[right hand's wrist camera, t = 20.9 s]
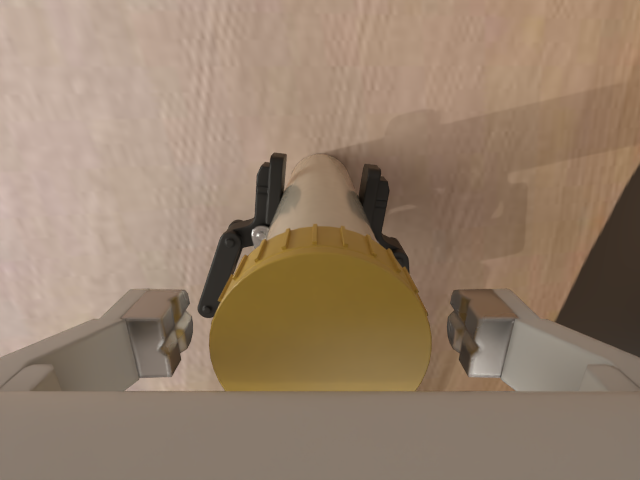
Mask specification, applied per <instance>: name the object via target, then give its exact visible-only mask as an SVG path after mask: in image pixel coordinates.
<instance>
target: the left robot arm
mask: <svg viewBox="0 0 640 480" xmlns="http://www.w3.org/2000/svg"><path fill="white" fill-rule="evenodd" d="M286 158H287V155H286V154H281V153H273V154H272V155H271V159H270V163H269V162H265V163H264V164H263V165H262V166H261V167H260V169H259V172H258V174H257V183H256V185H257V186H256V202H255V217H254V218H252V219H250V220H245V221H242V220H235V221H233V222H232V223H231V224H230V226H229V227H228V229H227V231H226V232H225V233H223V235H222V236H221V238H220V240H219V243H218V246H217V249H216V252H215V255H214V259H213V262H212V265H211V268H210V271H209V274H208V277H207V280H206V283H205V286H204V289H203V292H202V295H201V299H200V302H199V305H198V312H199V314H200V315H202V316H203V317H206V318H211V317H214V316H215V313H216V310H217V308H218V306H219V304H220V303H221V302H219V301H218V299H219V297H220V295H221V293H222V291H223V289H224V287H225V285H226V283H227V282H228V280H229V278H230V276H231V274H232V275H233V274H234V271H235V268H236V265H237V263H238V260H239V257H240V254H241V251H242V249H243V248H244V247H249V246H253V245H254V248H255V249H256V248H257V247H258V246H260V244H261V242H262V240H264V239H265V237H266V234H267V232H268V229H269V227H270V225H271V222H272V220H273V217H274V215H275V213H276V210H277V208H278V205H279V203H280V201H281V198H282V196H283V193H284V183H285V171H286ZM388 196H389V186H388V181H387V180H386V179H385V178H384V177H383V176H381V169H380V168H379V167H378V166H377V165H369V164H364V167H363V173H362V179H361V185H360V191H359V197H358V198H359V200H360V202H361V205H362V207H363V209H364V212H365V214H366V217H367V219H368V221H369V224H370V226H371V229H372V231H373V233H374V236H375V238H376V240H377V243H378V244H380V245H381V246H382V247H384V248H385V249H386V250H387V249H388V248H389V249H390V250H391V251H392V253H393V255H394V257H395V259H396V260H397V261H398V263H399V264H400V265H401V267H402V268H403V267H406V269H407V271H408V273H409V260H408V257H407V255H406V253H405V252H404V250H403V248H402V246H401V245H400V243H399V241H398V240H397V239H395V238H392V237H390V238H389V237H387V236H385V235H383V234H382V226H383V221H384V216H385V211H386V206H387V200H388Z"/></svg>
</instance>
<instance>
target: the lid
mask: <svg viewBox="0 0 640 480" xmlns="http://www.w3.org/2000/svg"><path fill="white" fill-rule="evenodd" d="M418 292H419V291H418V290H417V288H416V286H415V284H414V282H413V280H412V278H411V276H410V274H409V273H408V271H407V269H406V267H403V268H402V267H401V265H400V264H399V263H398V261H397V260H396V259H395V257H394V255H393V253H392V251H391V250H390V249H389V248H388V249H387V250H386V249H385V248H384V247H382V246H381V245H380V244H378V243H377V242H375V241H373V240H372V239H371V236H370V235H368V234H367V235H366V236H364V235H362V234H359V233H357V232H354V231H350V230H347V229H345V226H341V227H340V228H337V227H330V226H317V224H313V226H312V227H303V228H298V229H294V230H290V228H288V229H286V231H285V232H284V233H282V234H279V235H276V236H275V237H273V238H271V239H269V240H266V239H264V240H262V242H261V244H260V246H258V247H257V248H256V249H255V250H253V251H252V252H251V253H250V254H249V255H248V256H247V255H244V256H243V258H242V260H241V262H240V264H239V266H238V268H237V270H236V272H235V274H234V275H232V274H231V276H230V278H229V280H228V282H227V283H226V285H225V287H224V289H223V291H222V293H221V295H220V297H219V299H218V301H219V302H221V303H220V304H219V306H218V308H217V310H216V313H215V316H214V318H213V320H212V323H211V330H210V338H209V349H210V357H211V361H212V365H213V368H214V371H215V374H216V376H217V378H218V380H219V382H220V383H221V385H222V387H223V388H224V390H225V391H416V389H417V388H418V386H419V385H420V384H421V382H422V380H423V378H424V376H425V374H426V371H427V368H428V365H429V362H430V355H431V349H432V337H431V330H430V325H429V322H428V319H427V316H428V313H427V311H426V309H425V307H424V305H423V303H422V301H421V299H420V297H419V295H418Z"/></svg>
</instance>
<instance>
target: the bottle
mask: <svg viewBox="0 0 640 480" xmlns="http://www.w3.org/2000/svg"><path fill="white" fill-rule="evenodd" d="M313 224H317V226H330V227H337V228H340V227H341V226H345V229H347V230H350V231H354V232H357V233H359V234H362V235H364V236H366V235H367V234H368V235H370V236H371V239H372V240H373V241H375V242H377V240H376V238H375V236H374V233H373V231H372V229H371V226H370V224H369V221H368V219H367V217H366V214H365V212H364V209H363V207H362V205H361V202H360V200H359V198H358V195H357V193H356V190H355V188H354V186H353V183H352V181H351V179H350V176H349V174H348V171H347V169H346V168H345V166H344V165H343V164H342V163H341V162H340V161H339V160H337V159H336V158H334V157H332V156H329V155H325V154H315V155H311V156H308V157H306V158H304V159H303V160H301V161H300V162H299V163H298V164H297V165H296V167H295V168H294V170H293V172H292V174H291V177H290V179H289V181H288V184H287V186H286V189H285V191H284V193H283V196H282V198H281V201H280V203H279V205H278V208H277V210H276V213H275V215H274V217H273V220H272V222H271V225H270V227H269V229H268V232H267V234H266V237H265V239H266V240H269V239H271V238H273V237H275V236H276V235H279V234H282V233H284V232H285V231H286V229H288V228H290V230H294V229H298V228H303V227H312V226H313Z"/></svg>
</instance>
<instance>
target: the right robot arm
mask: <svg viewBox="0 0 640 480" xmlns="http://www.w3.org/2000/svg"><path fill="white" fill-rule="evenodd" d="M189 304H190V302H189V297H188V293H187V292H186V291H185V290H174V289H131V290H129V291H128V292H127V293H126V294H125V295H124V296H123V297H122V298H121V299H120V300H119V301H118V302H117V303H115V304H114V305H113V306H112V307H111V308H110V309H109V310H108V311H107V312H106V313H105V314H104V315H103V316H102V317H101V318H100V319H92V320H90V321H87V322H85V323H83V324H80V325H78V326H75V327H73V328H71V329H68V330H66V331H63V332H61V333H58V334H56V335H54V336H51V337H49V338H46V339H44V340H42V341H39V342H37V343H34V344H32V345H30V346H27V347H25V348H22V349H20V350H17V351H15V352H13V353H10V354H8V355H5V356H3V357H1V358H0V480H640V358H639V357H637V356H634V355H632V354H630V353H627V352H625V351H622V350H620V349H617V348H615V347H613V346H610V345H608V344H605V343H603V342H601V341H598V340H596V339H593V338H591V337H589V336H586V335H584V334H581V333H579V332H576V331H574V330H572V329H569V328H567V327H565V326H562V325H560V324H557V323H555V322H553V321H550V320H548V319H540V318H539V317H538V316H537V315H536V314H535V313H534V312H533V311H532V310H531V309H530V308H529V307H528V306H527V305H526V304H525V303H524V302H522V301H521V300H520V299H519V298H518V297H517V296H516V295H515V294H514V293H513V292H512V291H511V290H509V289H471V290H454V291H453V294H452V296H451V302H450V304H451V305H452V307H453V308H454V311H453V312H452V313H451V314H450V315H449V316H448V322H447V333H448V338H449V342H450V344H451V346H452V348H453V349H454V350H456V351H457V352H459V353H460V356H459V361H460V363H461V364H462V366H463V368H464V370H465V371H466V373H467V375H468V377H488V378H501V380H502V381H504V382H505V383H506V384H508V385H509V386H510V387H512V388H513V389H514V390H515V391H125V390H126V389H127V388H129V387H130V386H131V385H133V384H134V383H135V382H136V381H138V380H139V378H152V377H172V375H173V373H174V372H175V370H176V368H177V366H178V364H179V363H180V361H181V356H180V353H181V352H183V351H184V350H186V349H187V348H188V346H189V344H190V342H191V338H192V333H193V321H192V316H191V315H190V314H189V313H188V312H187V311H186V308H187V307H188V305H189Z"/></svg>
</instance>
